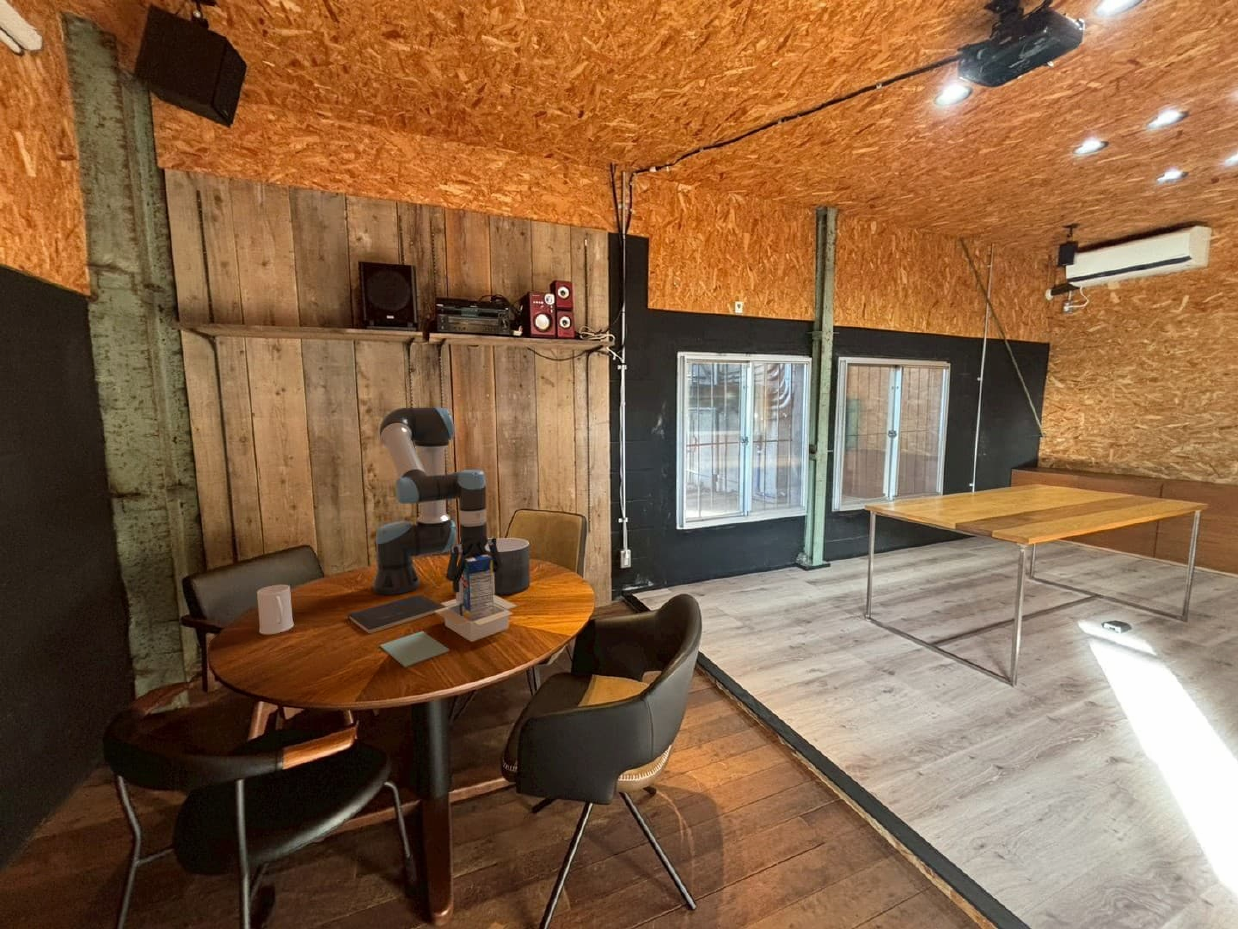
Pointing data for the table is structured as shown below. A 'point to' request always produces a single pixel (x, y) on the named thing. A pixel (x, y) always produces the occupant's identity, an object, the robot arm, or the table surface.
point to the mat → (414, 648)
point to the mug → (275, 609)
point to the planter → (512, 566)
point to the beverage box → (477, 587)
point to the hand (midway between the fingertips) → (475, 597)
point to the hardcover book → (394, 613)
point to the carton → (480, 626)
